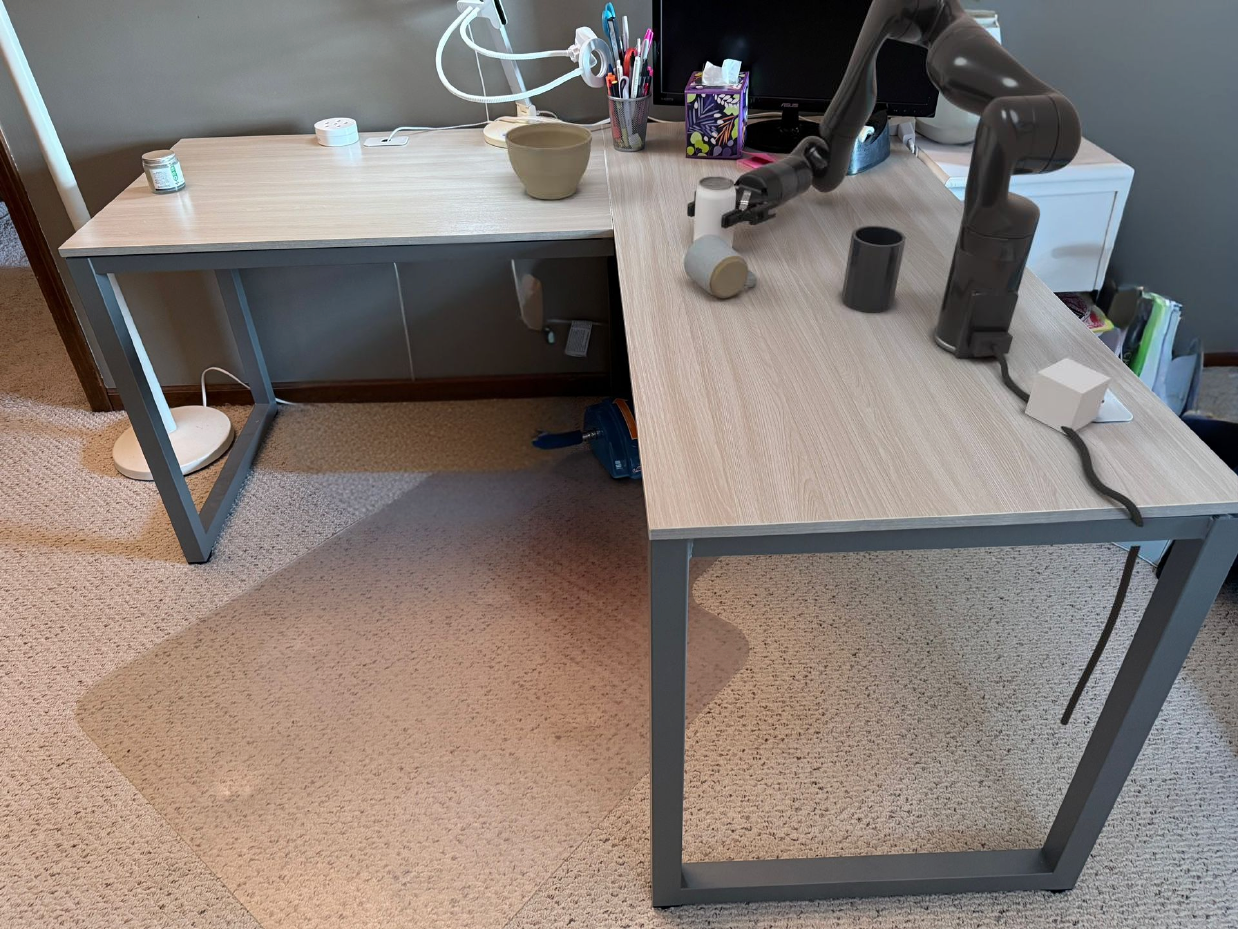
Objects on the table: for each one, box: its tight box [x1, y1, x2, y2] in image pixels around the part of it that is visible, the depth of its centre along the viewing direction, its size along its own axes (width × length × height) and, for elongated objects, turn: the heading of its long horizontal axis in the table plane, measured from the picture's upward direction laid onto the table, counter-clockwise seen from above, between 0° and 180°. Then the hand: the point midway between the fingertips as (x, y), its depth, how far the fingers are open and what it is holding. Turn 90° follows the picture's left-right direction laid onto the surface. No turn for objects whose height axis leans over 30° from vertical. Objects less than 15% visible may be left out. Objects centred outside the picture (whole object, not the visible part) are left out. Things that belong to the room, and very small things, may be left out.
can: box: [693, 175, 736, 249], centre depth 149 cm, size 6×6×12 cm
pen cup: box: [841, 225, 907, 314], centre depth 135 cm, size 8×8×10 cm
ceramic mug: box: [683, 235, 758, 299], centre depth 140 cm, size 11×8×8 cm
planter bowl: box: [504, 121, 593, 200], centre depth 172 cm, size 16×16×11 cm
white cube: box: [1024, 357, 1112, 436], centre depth 112 cm, size 6×6×6 cm
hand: (706, 216), depth 147 cm, fingers closed on can, 6 cm apart
